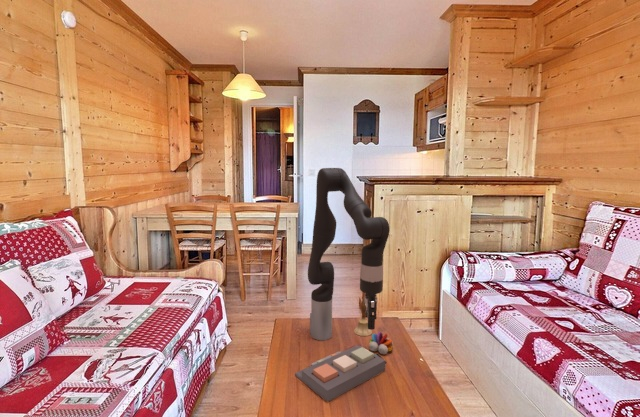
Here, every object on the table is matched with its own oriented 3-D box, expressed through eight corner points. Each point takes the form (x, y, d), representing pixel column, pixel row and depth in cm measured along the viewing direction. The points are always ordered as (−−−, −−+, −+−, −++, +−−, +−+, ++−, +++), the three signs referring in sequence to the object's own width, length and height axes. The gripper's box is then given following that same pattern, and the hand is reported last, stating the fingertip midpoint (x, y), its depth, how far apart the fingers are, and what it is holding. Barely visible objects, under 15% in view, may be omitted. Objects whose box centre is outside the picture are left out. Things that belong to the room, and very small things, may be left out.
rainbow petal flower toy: (388, 357, 137) (388, 340, 136) (365, 350, 142) (366, 334, 142) (395, 348, 145) (396, 331, 144) (373, 341, 150) (374, 325, 149)
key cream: (332, 366, 125) (332, 360, 125) (345, 361, 129) (345, 354, 129) (344, 374, 121) (344, 368, 121) (356, 368, 125) (356, 362, 124)
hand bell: (367, 326, 163) (368, 294, 161) (375, 335, 155) (376, 301, 153) (351, 328, 161) (351, 295, 159) (357, 337, 153) (358, 302, 151)
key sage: (350, 358, 131) (351, 352, 131) (362, 353, 135) (362, 347, 134) (362, 365, 126) (362, 359, 126) (373, 359, 130) (373, 353, 130)
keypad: (295, 375, 125) (295, 365, 125) (351, 350, 143) (351, 340, 142) (327, 402, 111) (327, 390, 111) (385, 370, 129) (385, 360, 128)
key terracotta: (313, 376, 120) (313, 369, 120) (326, 369, 124) (326, 363, 123) (324, 384, 115) (324, 377, 115) (337, 378, 119) (337, 371, 119)
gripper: (359, 269, 123) (357, 313, 125) (361, 284, 109) (359, 332, 111) (380, 270, 122) (378, 314, 125) (385, 284, 108) (383, 333, 110)
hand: (369, 322), depth 118 cm, fingers open, 8 cm apart
